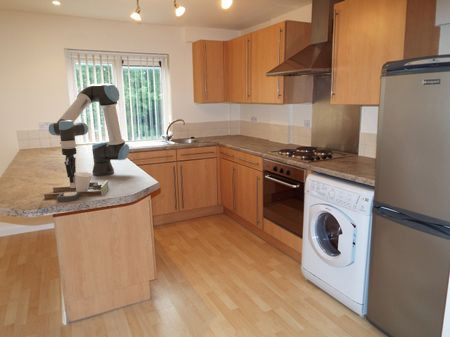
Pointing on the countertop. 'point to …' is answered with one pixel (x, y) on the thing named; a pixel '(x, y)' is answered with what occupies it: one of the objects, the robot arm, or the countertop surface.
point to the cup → (82, 181)
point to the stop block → (104, 187)
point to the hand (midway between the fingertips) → (73, 187)
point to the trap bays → (77, 196)
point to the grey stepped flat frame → (86, 193)
